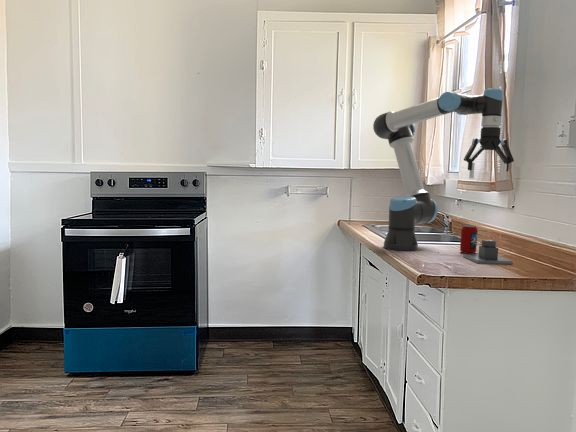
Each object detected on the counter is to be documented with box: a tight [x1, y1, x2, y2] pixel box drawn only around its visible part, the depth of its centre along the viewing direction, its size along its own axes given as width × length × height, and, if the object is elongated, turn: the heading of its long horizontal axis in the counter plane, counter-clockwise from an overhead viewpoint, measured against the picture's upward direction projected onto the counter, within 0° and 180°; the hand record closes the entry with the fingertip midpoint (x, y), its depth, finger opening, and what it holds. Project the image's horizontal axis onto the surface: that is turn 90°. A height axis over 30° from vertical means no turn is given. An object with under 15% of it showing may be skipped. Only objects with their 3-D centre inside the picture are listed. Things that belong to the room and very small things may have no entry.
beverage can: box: [459, 224, 479, 254], centre depth 221 cm, size 7×7×12 cm
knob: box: [478, 239, 499, 259], centre depth 202 cm, size 5×5×7 cm
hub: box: [462, 253, 514, 265], centre depth 203 cm, size 14×14×5 cm
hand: (487, 179), depth 209 cm, fingers open, 13 cm apart
